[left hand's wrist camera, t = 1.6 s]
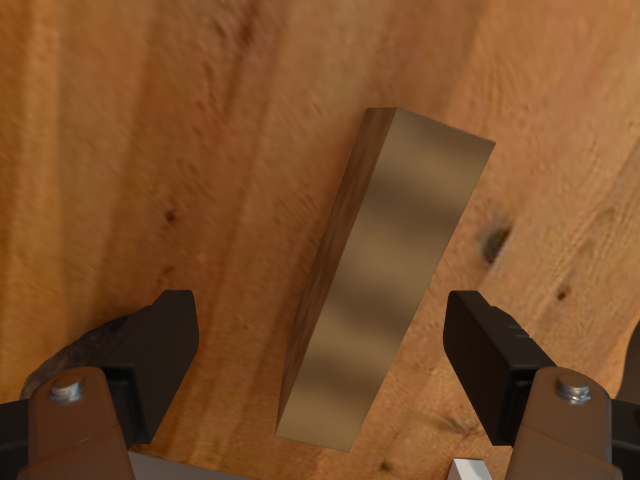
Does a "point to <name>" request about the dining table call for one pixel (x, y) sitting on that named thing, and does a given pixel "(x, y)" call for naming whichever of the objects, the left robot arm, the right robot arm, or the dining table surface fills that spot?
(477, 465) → the white angled block
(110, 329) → the decorative rock
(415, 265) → the box
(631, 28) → the dining table surface
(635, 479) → the left robot arm
